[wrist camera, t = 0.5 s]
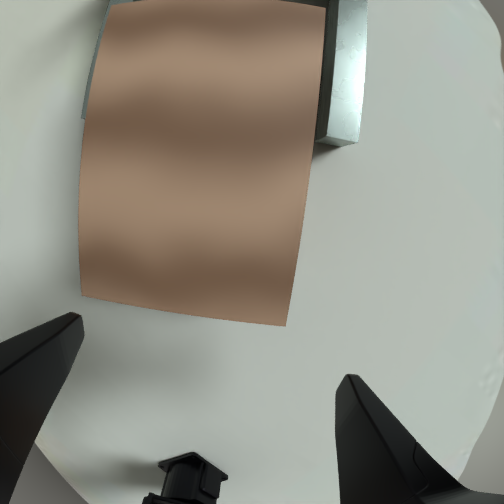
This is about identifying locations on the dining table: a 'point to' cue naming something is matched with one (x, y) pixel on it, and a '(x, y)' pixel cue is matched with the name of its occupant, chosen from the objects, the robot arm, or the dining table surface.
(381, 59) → the dining table surface
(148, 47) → the workpiece block
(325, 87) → the vise
